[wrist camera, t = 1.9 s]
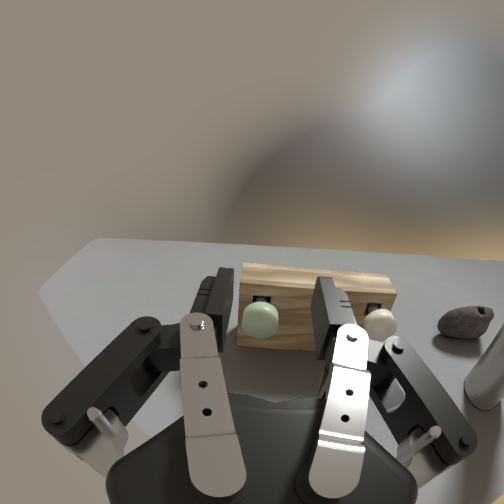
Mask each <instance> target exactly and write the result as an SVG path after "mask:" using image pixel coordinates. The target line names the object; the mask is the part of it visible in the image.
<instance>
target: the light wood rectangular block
mask: <svg viewBox="0 0 504 504" xmlns="http://www.w3.org/2000/svg"><path fill="white" fill-rule="evenodd" d="M318 276H321V277H332V278H333V281H334V284H335V287H338V288H342V289H343V290H344V291H345V293H346V294H347V296H348V299H349V302H350V305H351V308H352V311H353V314H354V317H355V320H356V323H357V326H358V327H360V328H362V329H363V321H364V319H365V318H366V316H367V315H368V314H369V313H368V311H367V308H366V307H367V304H368V303H376V304H377V306H378V309H387V310H389V311H390V310H391V308H392V306H393V303H394V301H395V298H396V296H397V292H396V290H395V288H394V287H393V285H392V283H391V281H390V280H389V278H388V276H387V275H386V274H374V273H361V272H349V271H336V270H324V269H312V268H301V267H289V266H278V265H267V264H255V263H245V262H244V263H243V268H242V273H241V279H240V289H239V310H238V331H237V346H247V347H258V348H271V349H286V350H305V351H316V345H315V338H314V331H313V324H312V317H311V300H312V296H313V292H314V288H315V283H316V279H317V277H318ZM256 295H258V296H268V302H267V303H269V304H271V305H273V306H274V307H275V308H276V310H277V312H278V330H277V332H276V333H275V334H274V335H272V336H270V337H268V338H263V339H258V338H253V337H251V336H249V335H247V334H246V333H245V332H244V331H243V329H242V318H243V312H244V309H245V308H246V307H247V306H248V305H250V304H252V303H254V302H256ZM363 330H364V329H363Z"/></svg>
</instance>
